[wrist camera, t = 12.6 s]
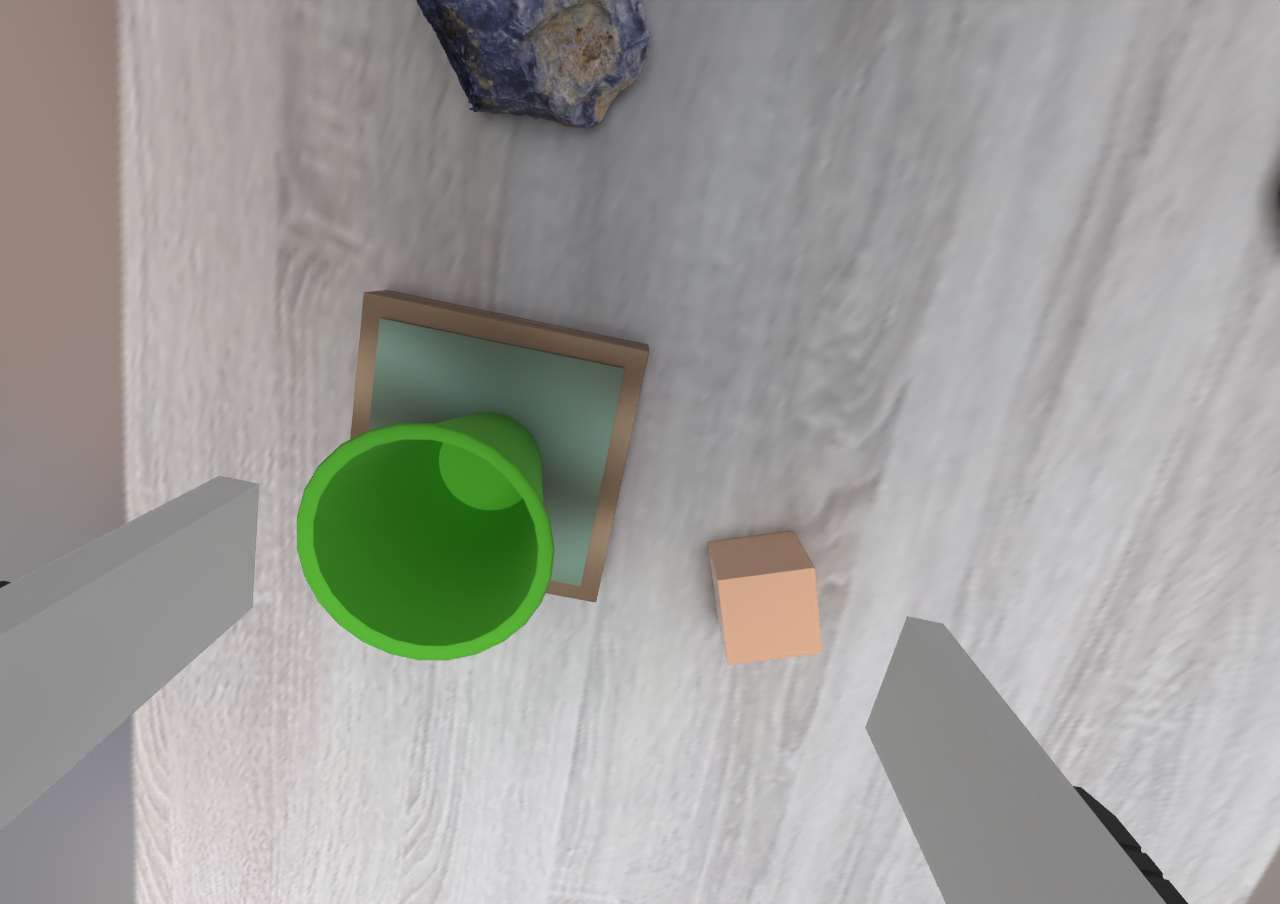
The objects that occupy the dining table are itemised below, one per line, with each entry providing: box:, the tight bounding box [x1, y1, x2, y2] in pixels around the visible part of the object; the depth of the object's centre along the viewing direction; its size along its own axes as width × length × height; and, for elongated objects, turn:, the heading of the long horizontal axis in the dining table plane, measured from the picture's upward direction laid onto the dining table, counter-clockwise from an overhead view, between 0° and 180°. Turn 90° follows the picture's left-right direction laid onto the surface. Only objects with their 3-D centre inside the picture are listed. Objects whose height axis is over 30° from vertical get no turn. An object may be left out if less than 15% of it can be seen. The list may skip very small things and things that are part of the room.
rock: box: [417, 0, 651, 128], centre depth 28 cm, size 11×10×10 cm
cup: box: [297, 412, 555, 660], centre depth 28 cm, size 9×9×11 cm
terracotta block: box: [708, 531, 822, 665], centre depth 37 cm, size 5×5×5 cm
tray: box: [350, 290, 649, 602], centre depth 35 cm, size 14×14×3 cm
